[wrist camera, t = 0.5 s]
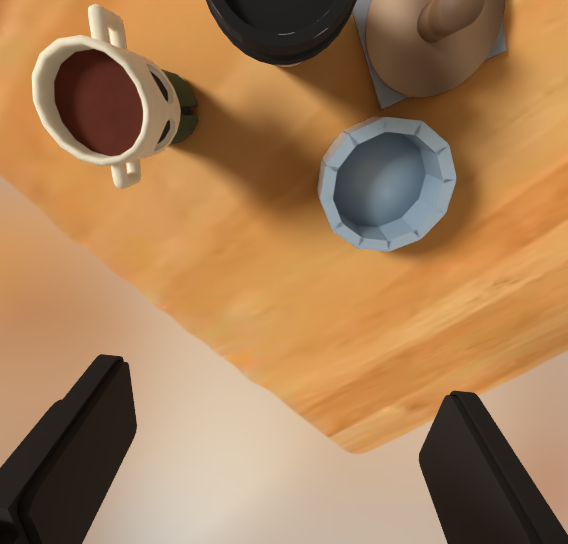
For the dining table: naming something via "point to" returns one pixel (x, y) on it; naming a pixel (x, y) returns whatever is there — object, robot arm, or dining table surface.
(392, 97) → the mat
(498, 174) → the dining table surface
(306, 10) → the coffee cup
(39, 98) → the character mug
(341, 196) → the bowl
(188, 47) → the dining table surface
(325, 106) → the dining table surface
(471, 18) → the lid
